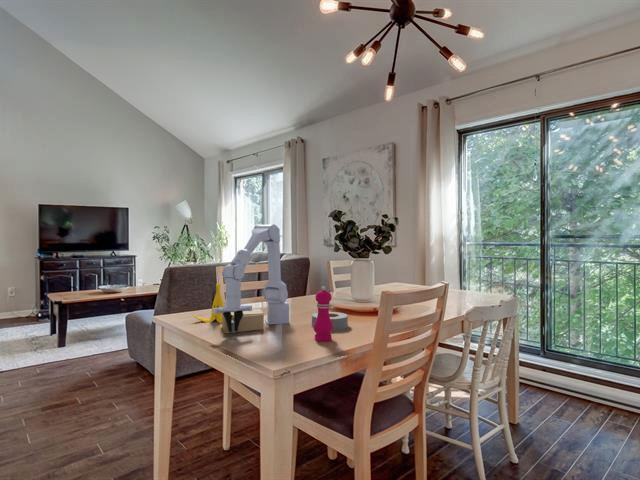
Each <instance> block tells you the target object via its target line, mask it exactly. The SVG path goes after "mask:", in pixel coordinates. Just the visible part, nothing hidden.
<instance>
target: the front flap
mask: <svg viewBox="0 0 640 480" xmlns="http://www.w3.org/2000/svg"><path fill="white" fill-rule="evenodd" d="M264 319H265V313H264V314H261V315H249V316H242V318H241V320H240V323H239V326H238V331H235V322H234V317H232V331H231V332H229V331H228V325H227V322H226V319H225V332H224V334H229V333H231V334H235V333H238V332H249V331H250V332H251V331H258V330H260V331H261V330H264V329H265V327H264V326H265V325H264V323H265V320H264Z"/></svg>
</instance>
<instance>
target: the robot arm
mask: <svg viewBox="0 0 640 480" xmlns="http://www.w3.org/2000/svg"><path fill="white" fill-rule="evenodd" d="M280 235H281V233H280V228H279V227H278V225H276V224H275V223H274V224H259V223H258V224H255V225H254V227H253V229H252V230H251V236H250V237H249V239H248V241H247V243H246V245H245V246H244V248H243V249H239V250H237V252H236V255H235V256H234V257H233V258H232V260H231V262H230V263H229V264H226V265H225V266H224V267H223V269H222V271H221V274H222V277H223V279H224V280H223V282H224V284H225V303H224V305H225V306H224V307H220V308H213V313H214V314H218V313H223V315H224V317H225V319H226V322H227V325H228V331H229V332H231V331H232V315H231V312H234V322H235V331H238V326H239V323H240V320H241V318H242V316H243V311H252V309H253V306H252V305H251V304H250V305H248V304H247V305H242V297H241V295H242V291H241V289H242V287H241V286H242V279H243V278H244V277H245V276H244V275H245V270H246V268H247V266H248V265H249V263H250V261H251V260H252V254H253V252H254V251H255V250H256V249H257V247H258V246H259V245H260V244H261V243H262V242H263V243H264V244H265V245H266V247H267V248H266V249H267V271H268V272H267V273H268V275H267V276H268V281H267V282H266V283H265V284H264V290H263V293H262V295H263V298H264V300H265V302H266V304H267V305H266V307H267V308H266V309H267V310H266V311H267V316H266V317H267V318H266V319H265V320H264V322H265V323H267V324H266V325H280V324H283V325H285V324H290V305H289V304H290V303H289V301H287V300H288V298H289V293H288V289H287V284H286V283H285V282H284V281H282V278H281V250H280V248H281V246H280V245H281V236H280Z"/></svg>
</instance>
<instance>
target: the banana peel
mask: <svg viewBox="0 0 640 480" xmlns="http://www.w3.org/2000/svg"><path fill="white" fill-rule="evenodd" d="M215 287H216V290H215V291H216V293H215V295H214V299H213V302H212V306H211V316H210V317H209V318H206V317H204V318H203V317H200V316H197V315H195V314H192V316H193V317H194V318H195V319H197V320H198V321H201V322H202V323H212V322H214V321H215V320H216V322H217V323H219V324H222V313H218V314H214V313H213V308H220V307H225V306H224V305H225V303H224V301H223V298H222V294H221V283H216V284H215Z"/></svg>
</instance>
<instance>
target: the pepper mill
mask: <svg viewBox="0 0 640 480" xmlns="http://www.w3.org/2000/svg"><path fill="white" fill-rule="evenodd" d="M332 299H333V298H332V294H331V292H330V291H328V290H327V287H326V286H325V285H322V286H321V290H319V291H317V292H316V294H315V300H316V302H317V303H316V308H317V313H318V315H317V319H316V321H315V323H314V328H313V330H314V332H315V334H314V340H315V341H317V342H320V343H321V342H330V341H332V334H331V333H332V332H333V331H332V330H333V325H332V322H331V320H330V317H329V312H330V308H331V303H330V302H331V301H332Z"/></svg>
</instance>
